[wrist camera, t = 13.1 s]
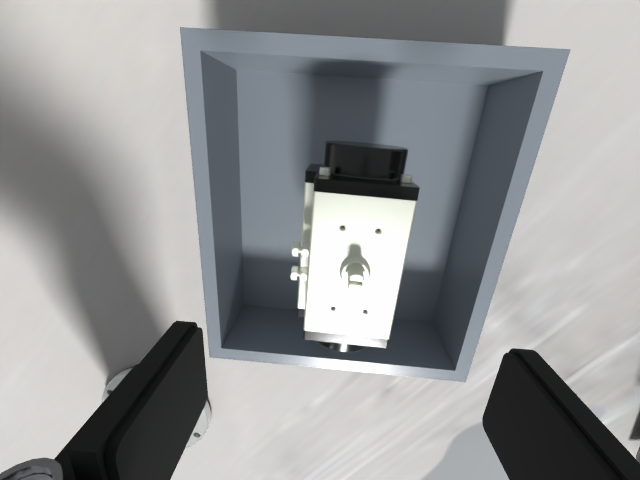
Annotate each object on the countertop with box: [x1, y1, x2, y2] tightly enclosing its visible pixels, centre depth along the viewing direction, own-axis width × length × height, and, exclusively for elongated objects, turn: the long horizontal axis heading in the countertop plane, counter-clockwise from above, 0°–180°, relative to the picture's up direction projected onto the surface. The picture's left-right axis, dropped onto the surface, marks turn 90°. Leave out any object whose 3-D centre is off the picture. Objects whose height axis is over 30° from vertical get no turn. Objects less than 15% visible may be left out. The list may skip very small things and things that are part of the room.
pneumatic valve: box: [291, 141, 420, 352], centre depth 19 cm, size 6×12×12 cm, turn 175°
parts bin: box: [180, 27, 570, 382], centre depth 23 cm, size 22×20×7 cm
